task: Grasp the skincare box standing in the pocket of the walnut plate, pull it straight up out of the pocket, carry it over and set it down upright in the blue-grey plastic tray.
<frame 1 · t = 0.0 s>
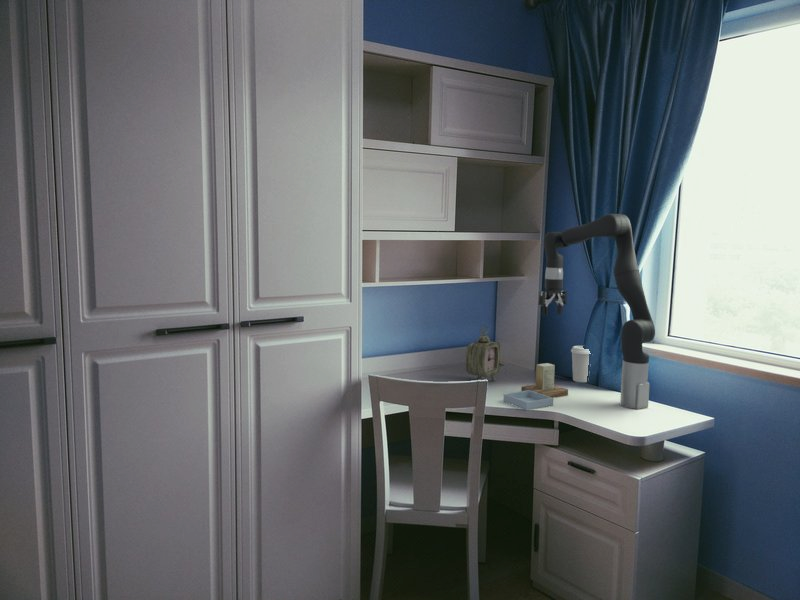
hand: (552, 314, 273), 29 cm above the table, fingers open, 8 cm apart
tabletop clock: (481, 382, 270), on the table
tray: (527, 403, 238), on the table
walnut plate: (544, 393, 253), on the table
coffee cup: (580, 380, 277), on the table
skincare box: (544, 394, 253), resting in walnut plate
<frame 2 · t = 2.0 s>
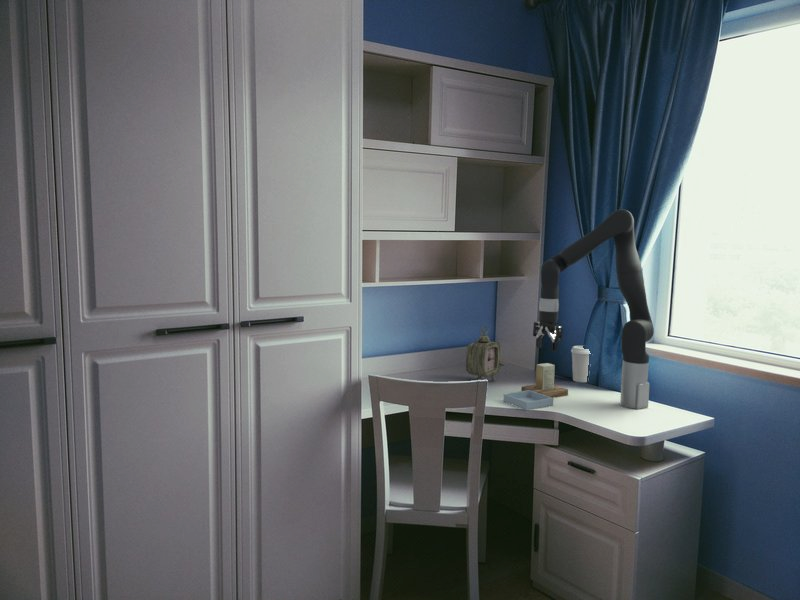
hand: (546, 349, 251), 18 cm above the table, fingers open, 8 cm apart
nothing on the table moved.
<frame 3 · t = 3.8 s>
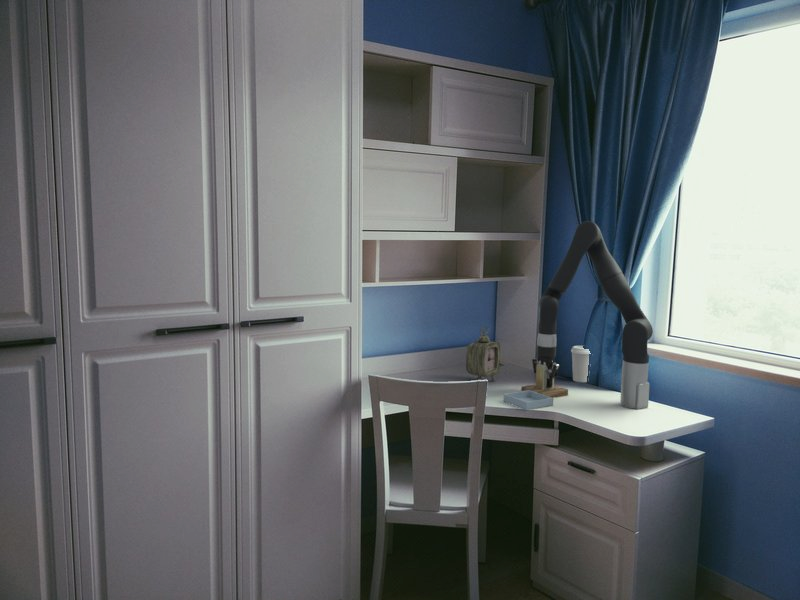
hand: (544, 385, 252), 3 cm above the table, fingers closed on skincare box, 4 cm apart
skincare box: (544, 394, 253), resting in walnut plate, touching gripper
everything else where it was.
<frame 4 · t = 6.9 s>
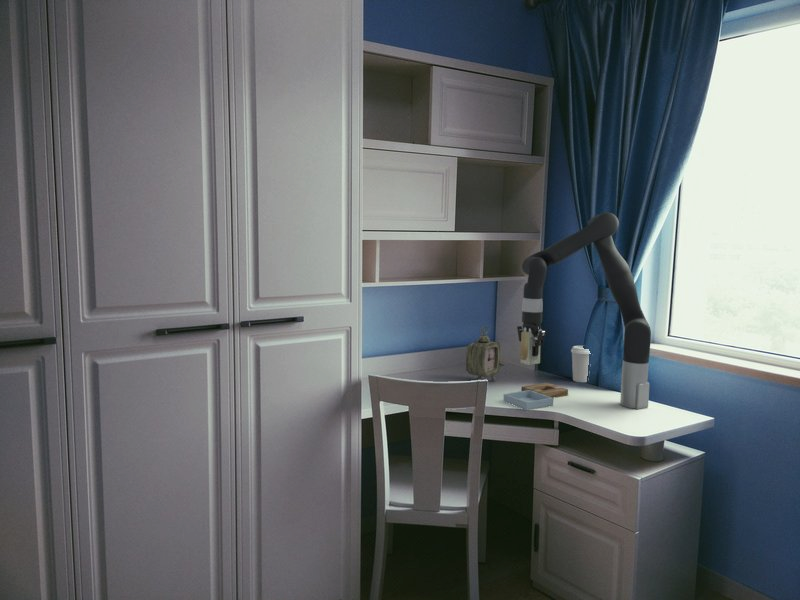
hand: (530, 354, 236), 19 cm above the table, fingers closed on skincare box, 4 cm apart
skincare box: (530, 363, 236), point 16 cm above the table, touching gripper
everything else where it was.
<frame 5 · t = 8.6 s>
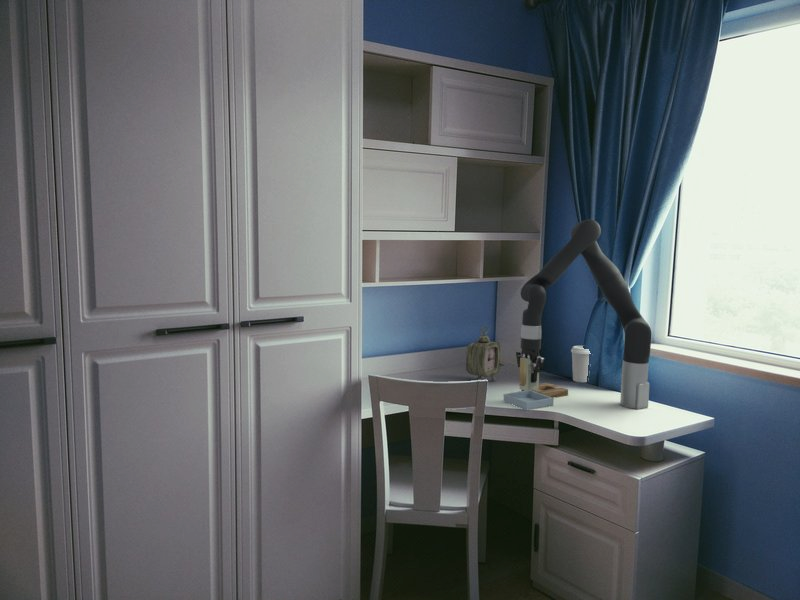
hand: (528, 380, 237), 9 cm above the table, fingers closed on skincare box, 4 cm apart
skincare box: (528, 389, 237), point 5 cm above the table, touching gripper
everything else where it was.
when the fingers open (5 cm above the table, at t = 9.8 s): skincare box drops 1 cm, resting on tray.
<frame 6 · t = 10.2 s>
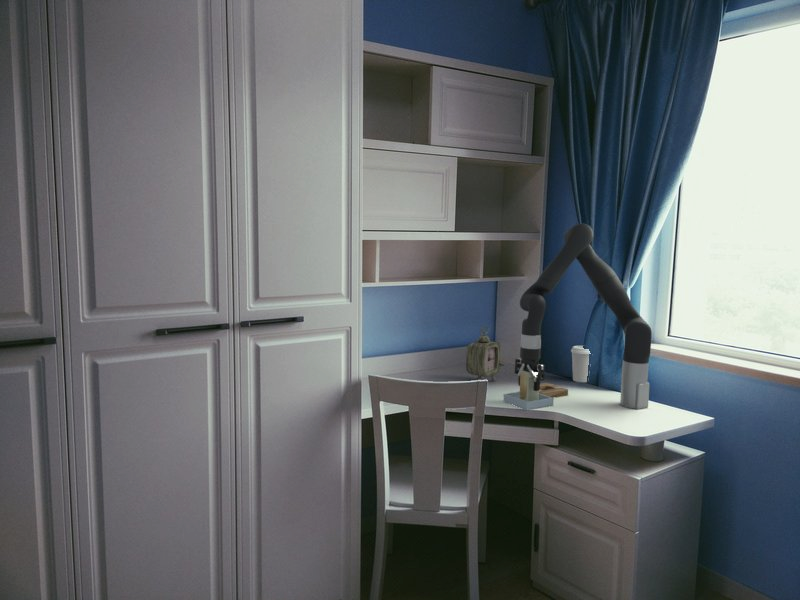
hand: (528, 388, 237), 6 cm above the table, fingers open, 8 cm apart
skincare box: (528, 403, 238), resting on tray
everything else where it was.
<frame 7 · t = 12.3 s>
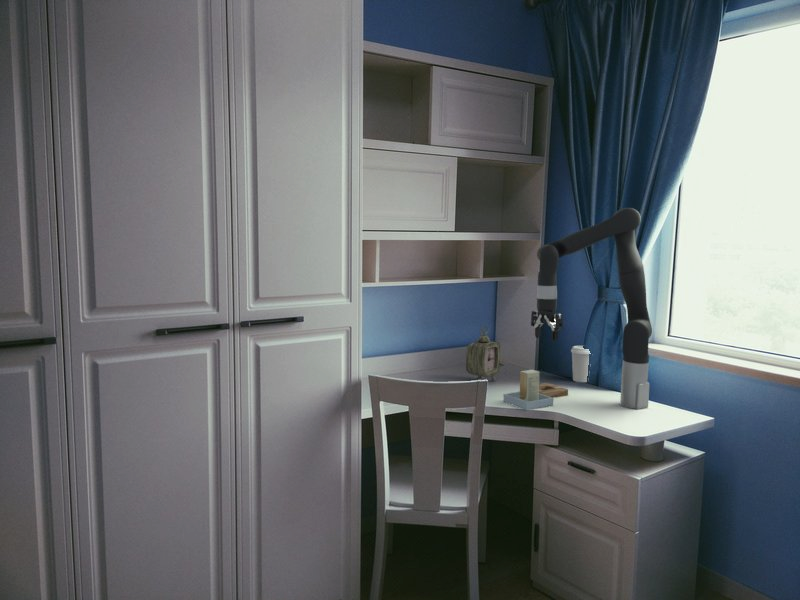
hand: (546, 339, 240), 24 cm above the table, fingers open, 8 cm apart
nothing on the table moved.
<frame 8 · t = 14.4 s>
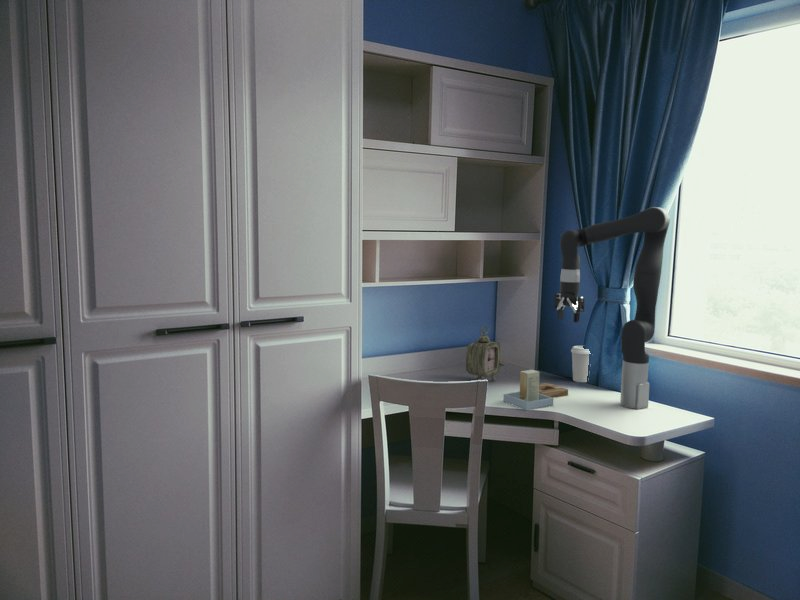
hand: (567, 320, 249), 30 cm above the table, fingers open, 8 cm apart
nothing on the table moved.
at the end: skincare box inside the target area on the tray (0.3 cm from its centre), point 0.3 cm above the tray's base; skincare box tilted 0°; the gripper is holding nothing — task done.
